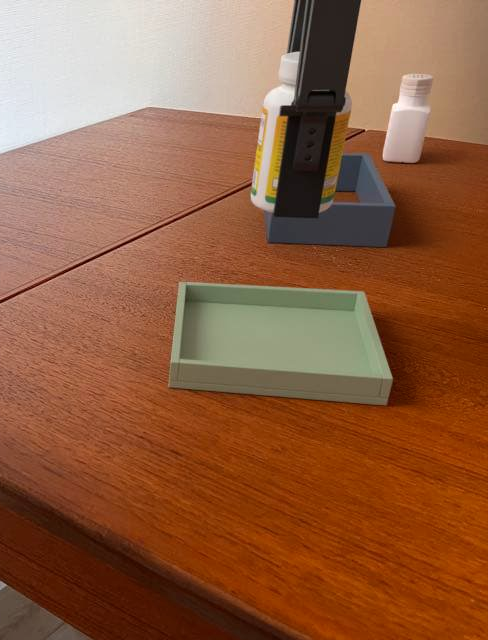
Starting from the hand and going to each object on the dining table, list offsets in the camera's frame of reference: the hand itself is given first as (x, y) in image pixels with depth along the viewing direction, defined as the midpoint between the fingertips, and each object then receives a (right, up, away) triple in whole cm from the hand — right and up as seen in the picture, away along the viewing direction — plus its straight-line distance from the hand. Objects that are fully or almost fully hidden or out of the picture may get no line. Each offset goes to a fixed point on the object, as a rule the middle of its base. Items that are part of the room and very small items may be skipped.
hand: (292, 200), depth 59 cm
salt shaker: (+31, +15, +45) cm, 56 cm away
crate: (+15, +6, +30) cm, 34 cm away
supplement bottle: (0, 0, 0) cm, 1 cm away
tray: (+1, -10, +6) cm, 11 cm away
